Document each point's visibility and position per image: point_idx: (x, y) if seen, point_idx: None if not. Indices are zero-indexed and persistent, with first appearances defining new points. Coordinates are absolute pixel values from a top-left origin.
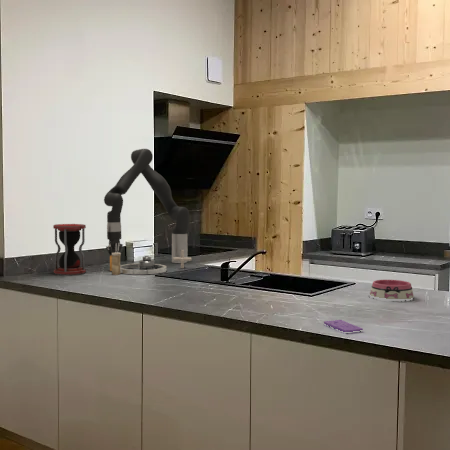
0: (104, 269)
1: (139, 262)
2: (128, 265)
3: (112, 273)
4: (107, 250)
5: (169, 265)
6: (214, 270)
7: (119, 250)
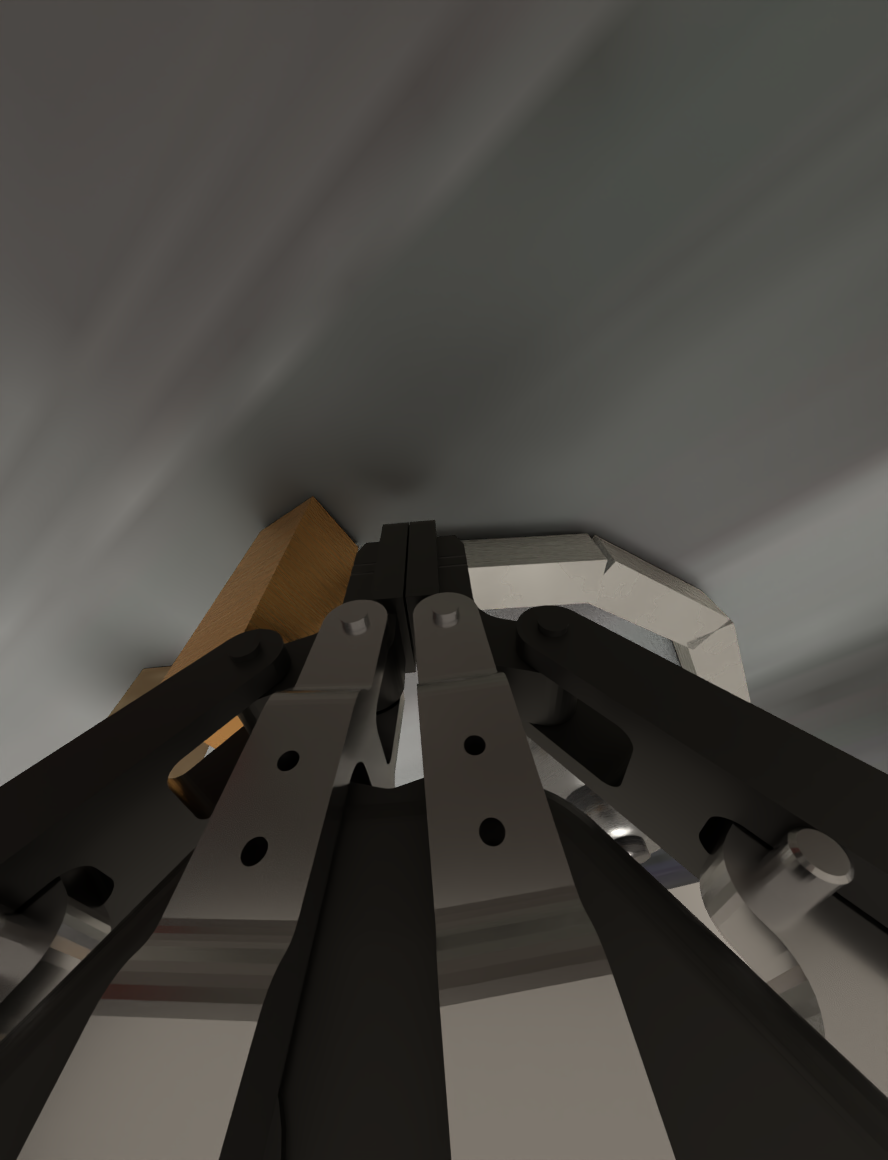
0: (350, 308)
1: (551, 761)
2: (589, 597)
3: (140, 681)
4: (3, 789)
5: (883, 707)
6: (673, 884)
7: (573, 768)
